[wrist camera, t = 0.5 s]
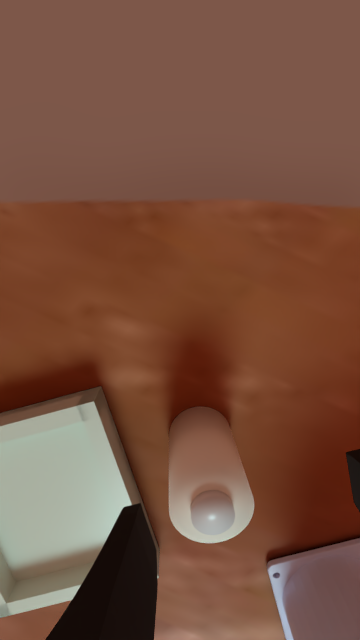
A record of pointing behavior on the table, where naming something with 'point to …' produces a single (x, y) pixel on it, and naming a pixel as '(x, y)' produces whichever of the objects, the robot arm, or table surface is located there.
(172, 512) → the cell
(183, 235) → the table surface
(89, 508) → the trough tray
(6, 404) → the table surface
